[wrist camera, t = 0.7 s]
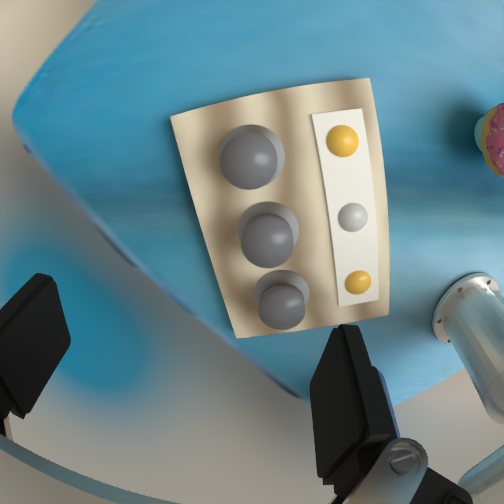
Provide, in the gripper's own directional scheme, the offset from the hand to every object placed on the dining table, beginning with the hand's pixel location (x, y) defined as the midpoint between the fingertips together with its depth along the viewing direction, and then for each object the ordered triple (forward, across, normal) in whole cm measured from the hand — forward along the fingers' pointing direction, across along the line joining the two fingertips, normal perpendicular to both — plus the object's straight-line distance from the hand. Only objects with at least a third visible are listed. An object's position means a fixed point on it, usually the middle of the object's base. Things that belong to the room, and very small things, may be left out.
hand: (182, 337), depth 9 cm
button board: (+25, -7, +5) cm, 26 cm away
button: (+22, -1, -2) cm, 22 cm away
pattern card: (+23, -12, +2) cm, 26 cm away
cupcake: (+24, -28, -11) cm, 39 cm away
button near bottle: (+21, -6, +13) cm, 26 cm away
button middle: (+21, -4, +6) cm, 22 cm away
